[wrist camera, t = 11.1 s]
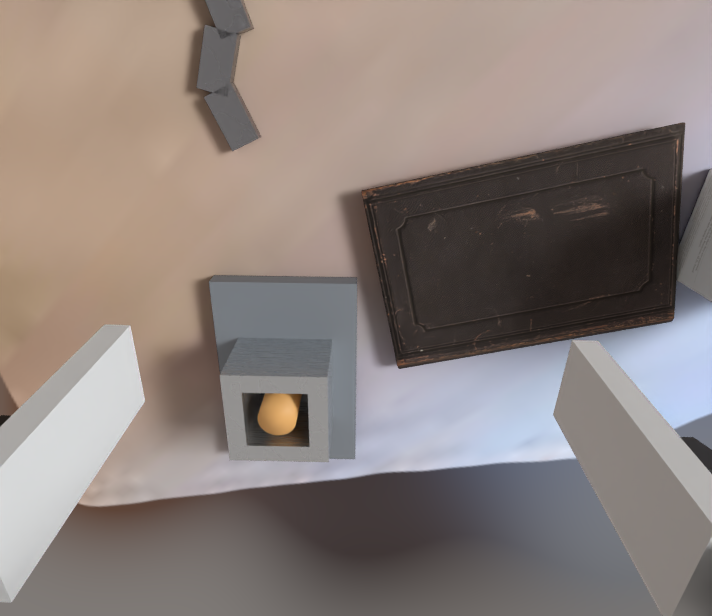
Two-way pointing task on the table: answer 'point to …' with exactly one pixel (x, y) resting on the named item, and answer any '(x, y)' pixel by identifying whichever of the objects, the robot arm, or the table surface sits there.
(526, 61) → the table surface
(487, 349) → the hardcover book
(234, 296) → the keeper
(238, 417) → the square tube segment
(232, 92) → the chain tail
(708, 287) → the supplement box
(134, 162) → the table surface
